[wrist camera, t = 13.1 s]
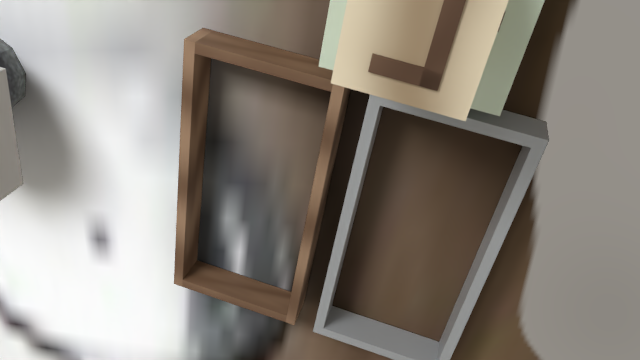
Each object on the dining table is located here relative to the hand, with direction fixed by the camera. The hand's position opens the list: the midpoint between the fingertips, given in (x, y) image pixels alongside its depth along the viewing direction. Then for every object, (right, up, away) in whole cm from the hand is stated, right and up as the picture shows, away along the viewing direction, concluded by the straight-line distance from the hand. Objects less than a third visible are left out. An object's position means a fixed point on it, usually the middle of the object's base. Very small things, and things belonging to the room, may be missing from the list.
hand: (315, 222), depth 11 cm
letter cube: (+6, +10, +17) cm, 20 cm away
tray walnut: (-4, +1, +30) cm, 30 cm away
